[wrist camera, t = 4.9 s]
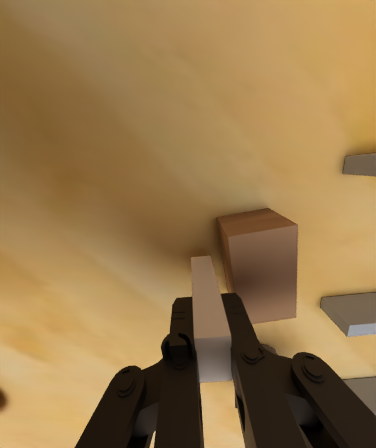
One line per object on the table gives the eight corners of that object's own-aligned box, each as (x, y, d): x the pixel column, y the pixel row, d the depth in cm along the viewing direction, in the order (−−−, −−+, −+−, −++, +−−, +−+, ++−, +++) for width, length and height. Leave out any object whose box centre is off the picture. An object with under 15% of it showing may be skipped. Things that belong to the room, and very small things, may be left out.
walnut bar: (216, 216, 14) (227, 236, 10) (267, 207, 14) (297, 224, 10) (226, 288, 16) (238, 326, 13) (270, 281, 16) (296, 317, 12)
